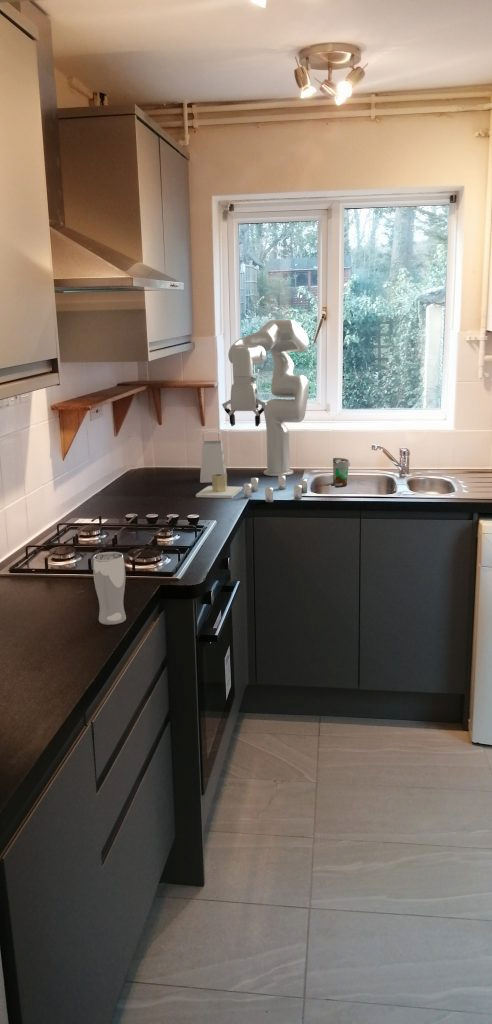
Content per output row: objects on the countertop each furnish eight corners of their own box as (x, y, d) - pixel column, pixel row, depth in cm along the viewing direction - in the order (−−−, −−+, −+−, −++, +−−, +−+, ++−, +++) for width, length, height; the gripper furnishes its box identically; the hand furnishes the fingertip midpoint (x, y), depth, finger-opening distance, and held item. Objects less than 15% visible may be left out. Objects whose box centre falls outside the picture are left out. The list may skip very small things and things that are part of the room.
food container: (351, 488, 314) (351, 462, 312) (335, 488, 314) (335, 463, 312) (348, 481, 326) (348, 457, 324) (332, 482, 326) (332, 457, 324)
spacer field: (255, 487, 321) (255, 474, 319) (310, 488, 315) (310, 476, 314) (239, 501, 297) (238, 487, 296) (298, 503, 292) (297, 489, 291)
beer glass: (91, 624, 181) (86, 559, 177) (104, 613, 187) (100, 550, 184) (120, 626, 179) (116, 561, 176) (132, 615, 186) (129, 552, 182)
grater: (202, 477, 343) (200, 430, 338) (227, 477, 343) (225, 429, 338) (199, 482, 333) (197, 433, 328) (225, 482, 332) (223, 433, 328)
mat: (208, 488, 321) (208, 485, 321) (242, 489, 317) (242, 486, 317) (195, 497, 306) (195, 494, 306) (231, 498, 302) (231, 495, 302)
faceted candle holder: (215, 488, 315) (215, 473, 313) (228, 489, 314) (227, 473, 312) (211, 491, 309) (210, 476, 308) (224, 492, 308) (223, 476, 307)
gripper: (268, 379, 307) (269, 424, 312) (224, 379, 312) (226, 423, 317) (262, 381, 300) (264, 427, 305) (218, 382, 305) (220, 427, 310)
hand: (245, 425), depth 311 cm, fingers open, 9 cm apart
